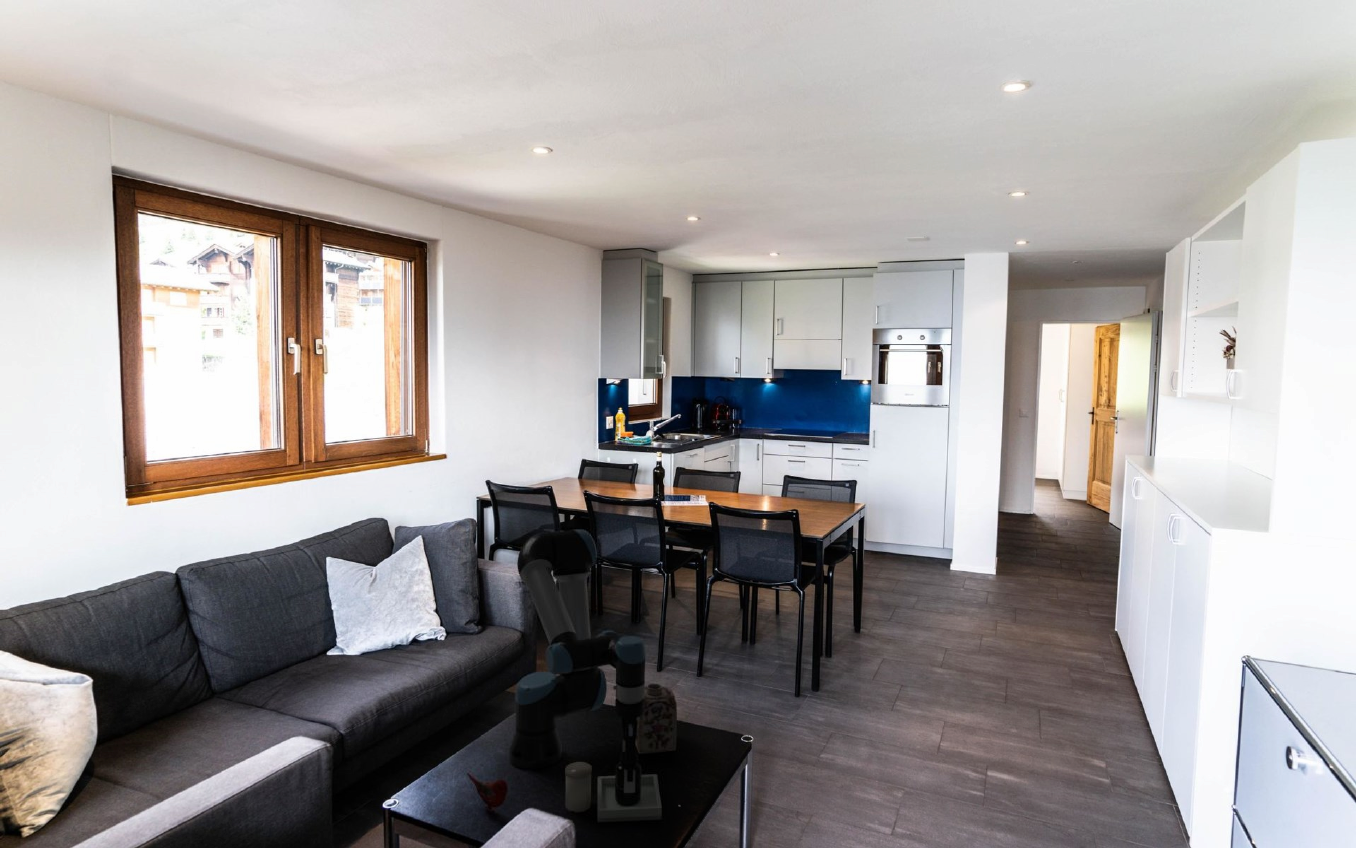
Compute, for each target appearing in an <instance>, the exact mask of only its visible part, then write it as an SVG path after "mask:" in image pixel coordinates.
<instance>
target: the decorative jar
mask: <svg viewBox="0 0 1356 848" xmlns="http://www.w3.org/2000/svg"><path fill="white" fill-rule="evenodd" d="M675 696H676V695H675V693H674V692H673V689H670V688H668V687H665V686H662V685H661V684H659V683H650V684H648V685H647V686H646V685H645V697H644V713H643V714H642V715H641V716H640V717H637V738H636V740H635V748H636V750H637V754H638V755H645V754H646V755H647V754H655V753H656V754H657V753H665V752H666V753H667V751H668V752H674V751H676V749H677V734H678V733H677V729H678V727H677V726H678V725H677V723H678V722H677V721H678V719H677V718H678V705H677V700H676V697H675Z"/></svg>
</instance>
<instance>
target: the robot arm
mask: <svg viewBox="0 0 1356 848" xmlns="http://www.w3.org/2000/svg"><path fill="white" fill-rule="evenodd" d="M597 558H598V553H597V546H596V543H595V540H594V538H593V537H592V535H591V534H590V532H588V531H587V530H585V529H568V530H560V531H559V530H558V531H557V530H556V531H548V532H545V531H544V532H539V533H536V534H534V535H532V536H531V537H529V538H528V539H527V540H525V542H524V544H523V545H522V546H521V548H520V551H519V553H518V556H517V572H518V575H519V577H520V579H521V581H522V582H523V583H525V584H526V586H527V588H528V592H529V593H530V596H531V598H532V601H533V604H534V606H535V609H536V612H537V614H538V617H539V620H540V623H541V625H542V628H543V630H544V632H545V636H546V637H547V641H548V643H549V645H548V647H547V648H546V649H545V661H546V667H547V669H548V671H537V672H532V673H529V674H527V675H525V676H523V677H522V678H521V679H520V680H519V681H518V683H517V684H516V688H515V689H516V690H515V697H514V699H515V732H514V735H513V738H512V741H511V744H510V747H509V752H508V753H509V755H508V756H509V759H508V760H509V762H510V763H511V764H512V765H513V766H515V767H518V768H521V769H527V770H537V769H543V768H547V767H550V766H553V765H554V764H556V763H558V762H559V761H560V759H561V758H562V755H563V746H562V742H561V740H560V737H559V734H558V731H557V719H561V718H565V717H568V716H569V717H570V716H573V715H577V714H583V713H590V712H591V711H595V710H598V709H600V708H601V707H602V706H603V704H604V702H605V700H606V697H607V691H608V689H607V688H608V687H607V686H608V685H607V678H606V674H605V672H604V670H603V669H602V668H599V667H603V666H608V665H609V666H611V667H613V668H614V669H615V685H613V687H612V688H613V689H612V690H614V691H615V699H614V700H615V701H614V705H615V706H614V707H615V708H614V711H615V712H614V713H615V714H616V716H618V717H619V718H621V728H622V739H623V740H622V752H624V751H625V766H622V769H624V793H635V770H636V753H637V752H636V750H637V749H636V745H635V740H636V738H637V717H640V716H641V715H642V714H643V713H644V697H645V686H646V681H645V679H646V678H645V677H646V657H647V654H646V643H645V641H644V639H642V637H638V636H635V635H627V636H622V635H621V634H620V633H618V632H615V631H613V630H610V629H609V630H608V629H607V630H603V631H601V632H599V634H597V636H595V637H591V622H590V608H589V594H588V580H587V579H588V578H589V576H590V575H591V573H592V569H591V568H592V567H594V566H595V565H596V563H597ZM555 580H556V581H557V582H558V583H556V582H555ZM557 584H558V586H557Z"/></svg>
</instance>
